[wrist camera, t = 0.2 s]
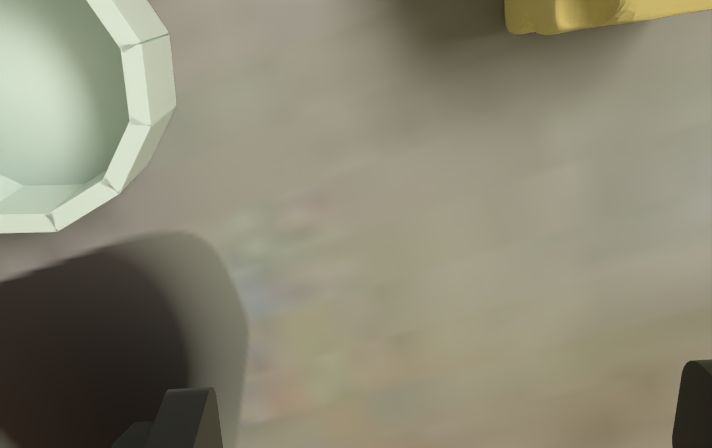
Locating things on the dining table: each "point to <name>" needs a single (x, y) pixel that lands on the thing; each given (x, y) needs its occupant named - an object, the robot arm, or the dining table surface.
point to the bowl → (77, 105)
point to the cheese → (590, 13)
